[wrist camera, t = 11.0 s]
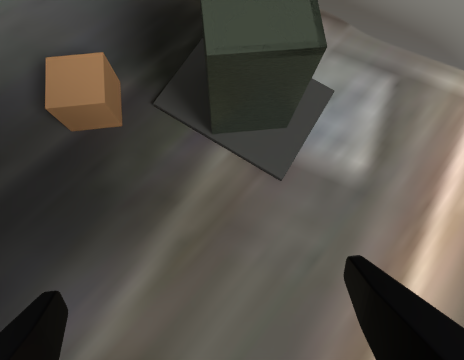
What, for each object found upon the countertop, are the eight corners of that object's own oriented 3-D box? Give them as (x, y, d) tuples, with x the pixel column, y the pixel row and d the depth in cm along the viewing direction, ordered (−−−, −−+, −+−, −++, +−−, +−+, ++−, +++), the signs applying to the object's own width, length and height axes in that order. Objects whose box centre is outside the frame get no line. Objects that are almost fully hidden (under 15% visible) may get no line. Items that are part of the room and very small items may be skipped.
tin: (286, 127, 25) (327, 46, 16) (212, 134, 25) (206, 55, 15) (276, 62, 27) (307, -49, 17) (205, 67, 27) (196, -43, 17)
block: (122, 126, 26) (104, 102, 22) (72, 131, 25) (45, 108, 22) (120, 82, 27) (103, 52, 23) (71, 87, 26) (45, 57, 23)
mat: (332, 94, 27) (334, 90, 26) (281, 181, 25) (282, 179, 24) (212, 28, 28) (212, 24, 28) (154, 106, 26) (153, 103, 26)
